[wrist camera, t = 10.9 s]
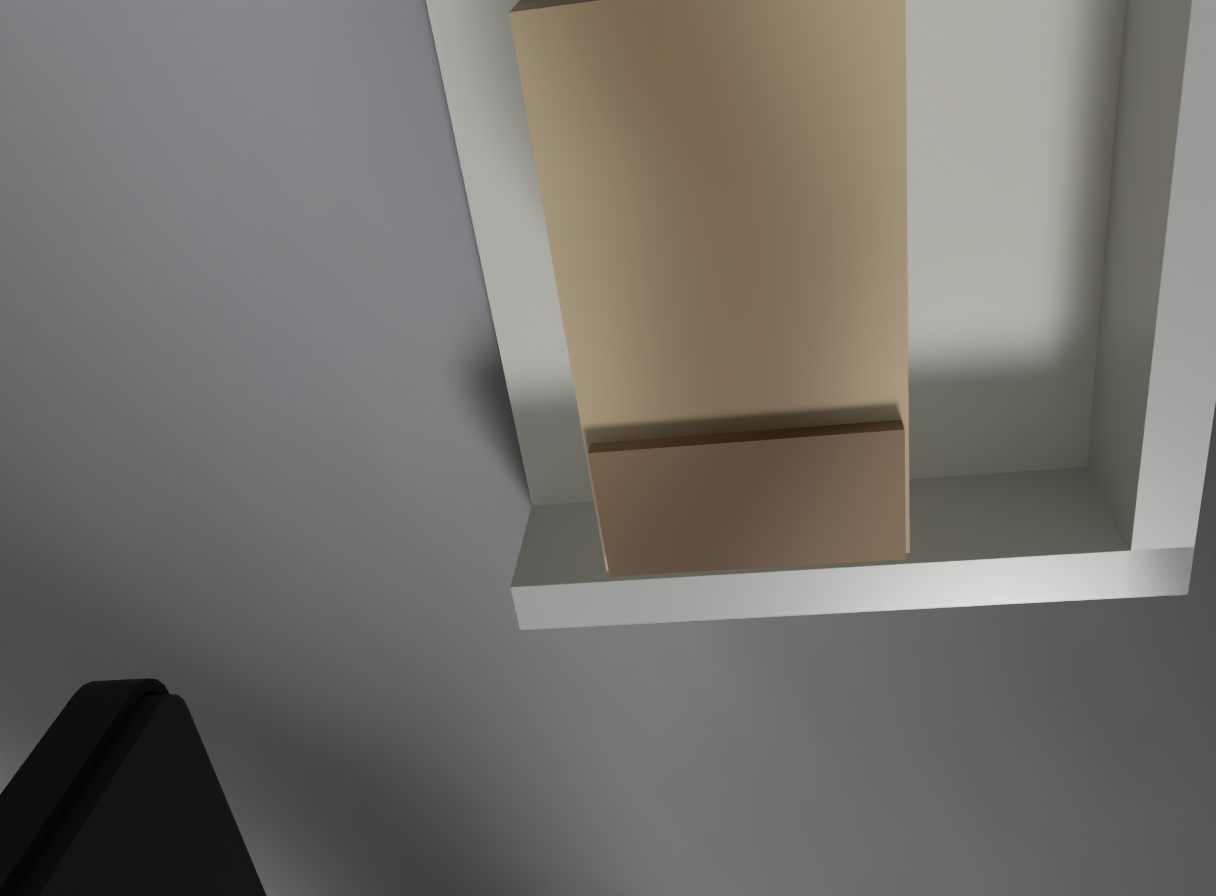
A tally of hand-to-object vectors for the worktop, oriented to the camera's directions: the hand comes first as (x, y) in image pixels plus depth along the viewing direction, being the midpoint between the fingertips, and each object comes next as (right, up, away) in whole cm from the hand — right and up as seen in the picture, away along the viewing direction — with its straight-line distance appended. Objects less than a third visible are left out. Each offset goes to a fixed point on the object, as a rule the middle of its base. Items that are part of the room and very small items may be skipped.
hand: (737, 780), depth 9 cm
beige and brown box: (+1, +8, +13) cm, 16 cm away
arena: (+3, +8, +14) cm, 17 cm away
